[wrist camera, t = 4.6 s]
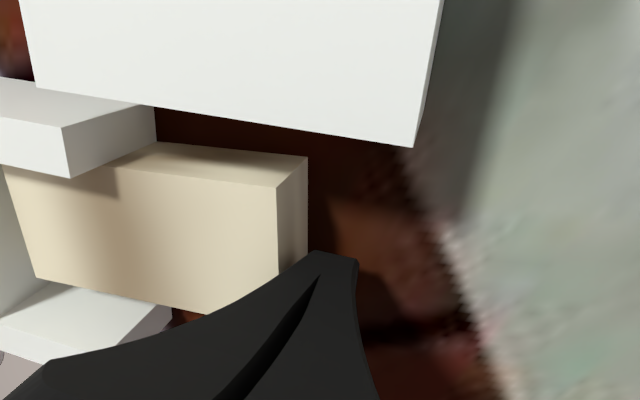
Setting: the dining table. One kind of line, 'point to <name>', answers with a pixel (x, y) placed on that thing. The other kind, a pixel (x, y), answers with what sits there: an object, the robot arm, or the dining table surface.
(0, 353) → the supplement bottle
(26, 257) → the end cap
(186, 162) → the beige rectangular block
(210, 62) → the white u-shaped block
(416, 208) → the dining table surface
